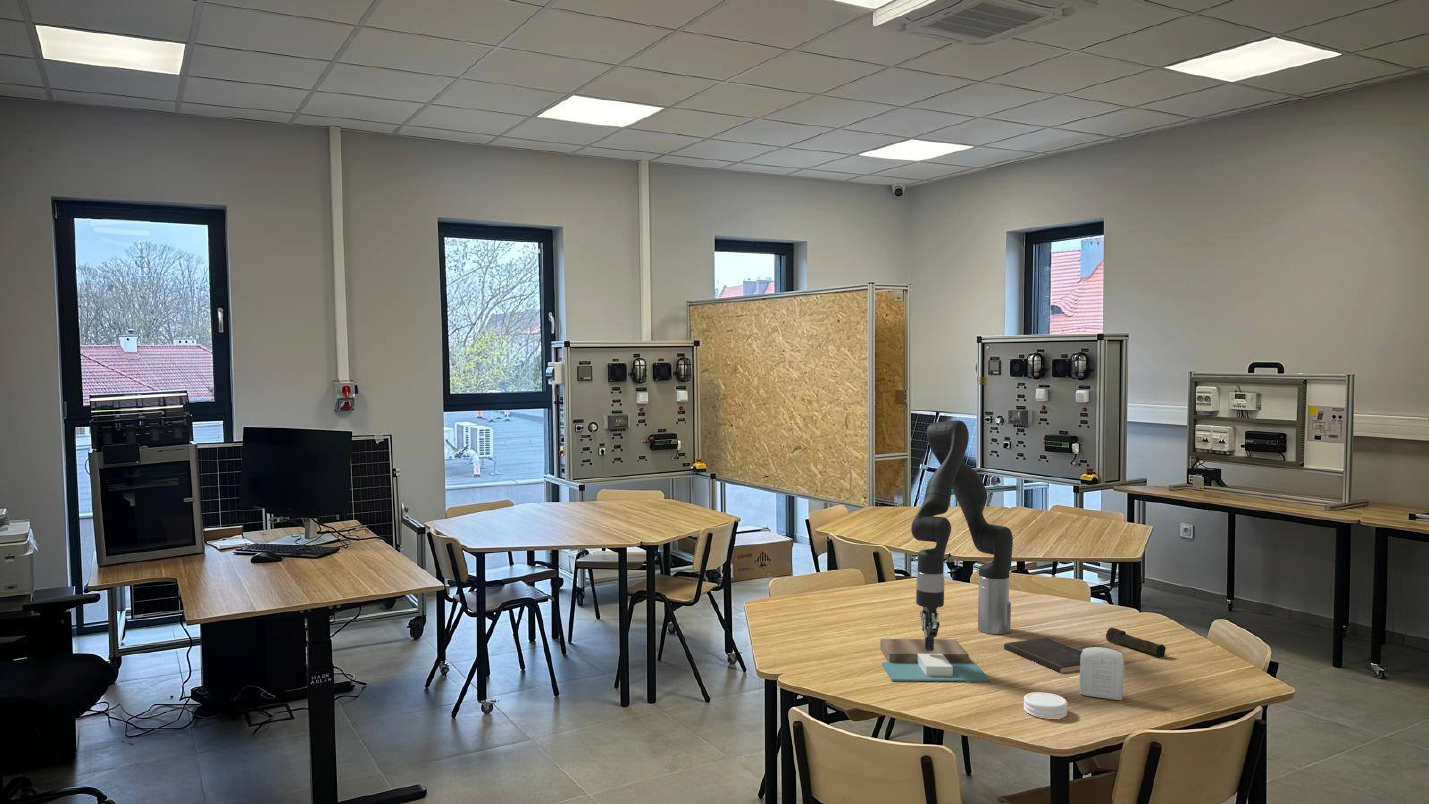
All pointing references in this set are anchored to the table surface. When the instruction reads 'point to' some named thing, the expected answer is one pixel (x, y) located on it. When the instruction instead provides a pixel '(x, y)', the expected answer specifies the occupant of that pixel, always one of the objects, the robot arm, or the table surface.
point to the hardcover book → (1047, 654)
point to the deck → (922, 650)
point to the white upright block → (1101, 673)
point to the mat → (915, 673)
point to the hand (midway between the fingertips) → (929, 649)
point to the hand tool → (1134, 642)
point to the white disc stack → (1045, 705)
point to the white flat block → (934, 665)
